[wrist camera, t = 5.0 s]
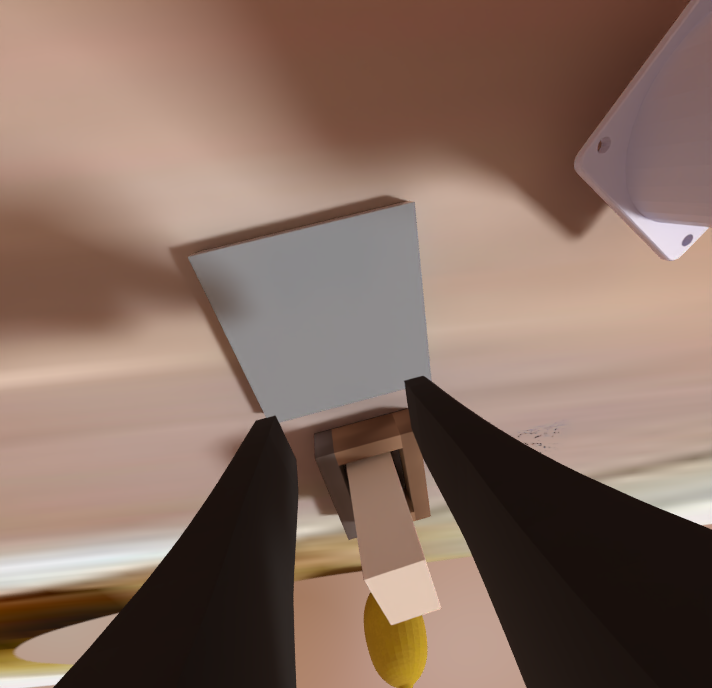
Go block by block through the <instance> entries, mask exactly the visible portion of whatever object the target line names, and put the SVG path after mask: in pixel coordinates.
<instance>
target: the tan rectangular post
mask: <svg viewBox="0 0 712 688" xmlns="http://www.w3.org/2000/svg"><path fill="white" fill-rule="evenodd" d="M346 467H347V473H348V480H349V486H350V493H351V500H352V506H353V513H354V519H355V526H356V532H357V539H358V545H359V552H360V558H361V565H362V571H363V578H364V581H365V583H366V584H367V586H368V588H369V589H370V591H371V593H372V594H373V596H374V598H375V599H376V601H377V603H378V604H379V606H380V608H381V609H382V611H383V613H384V614H385V616H386V618H387V619H388V621H389V623H390V624H391V625H394V624H397V623H400V622H403V621H406V620H409V619H412V618H415V617H418V616H421V615H424V614H427V613H430V612H433V611H436V610H439V609H441V605H440V602H439V600H438V596H437V593H436V590H435V587H434V584H433V581H432V579H431V575H430V572H429V569H428V566H427V563H426V560H425V557H424V554H423V551H422V548H421V544H420V541H419V538H418V535H417V532H416V529H415V526H414V523H413V520H412V517H411V514H410V511H409V508H408V505H407V502H406V499H405V496H404V493H403V490H402V487H401V483H400V480H399V477H398V474H397V471H396V468H395V465H394V462H393V459H392V456H391V453H390V452H386V453H383V454H379V455H376V456H372V457H368V458H365V459H361V460H358V461H354V462H350V463H347V464H346Z"/></svg>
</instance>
